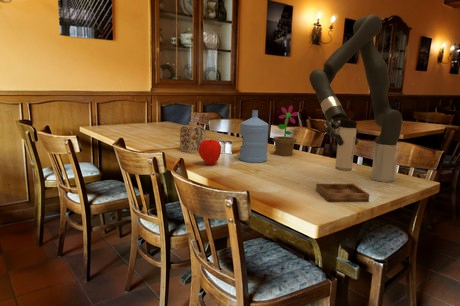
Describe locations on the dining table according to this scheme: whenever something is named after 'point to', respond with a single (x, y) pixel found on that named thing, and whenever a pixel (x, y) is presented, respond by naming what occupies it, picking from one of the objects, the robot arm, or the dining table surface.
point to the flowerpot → (282, 142)
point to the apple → (210, 151)
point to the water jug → (254, 139)
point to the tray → (342, 193)
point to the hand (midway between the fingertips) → (348, 144)
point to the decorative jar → (191, 137)
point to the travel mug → (346, 145)
